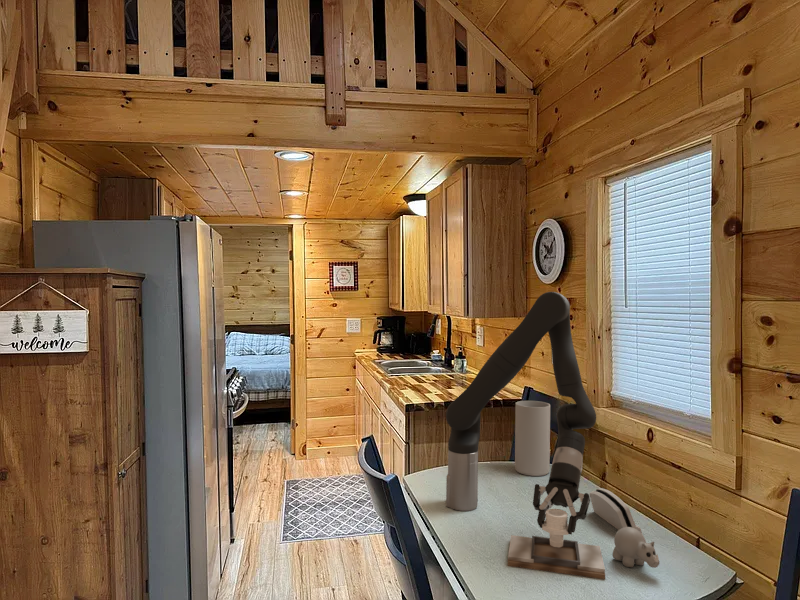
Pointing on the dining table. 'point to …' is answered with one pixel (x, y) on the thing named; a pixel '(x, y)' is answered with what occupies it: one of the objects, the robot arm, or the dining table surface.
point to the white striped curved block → (612, 509)
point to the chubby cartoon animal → (634, 548)
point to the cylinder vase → (532, 438)
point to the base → (556, 556)
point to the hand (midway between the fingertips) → (555, 529)
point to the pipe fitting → (556, 526)
